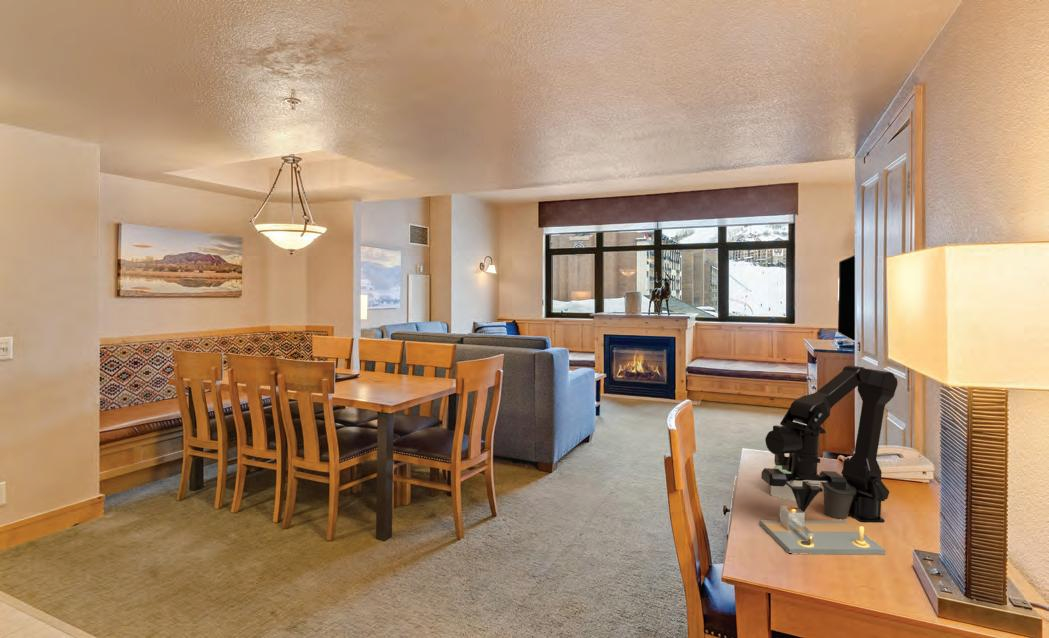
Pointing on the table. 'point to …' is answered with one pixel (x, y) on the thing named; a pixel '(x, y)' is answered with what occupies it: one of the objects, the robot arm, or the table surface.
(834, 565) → the table surface
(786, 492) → the box
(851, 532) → the jig plate
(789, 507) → the white block with bar
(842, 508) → the coffee cup
